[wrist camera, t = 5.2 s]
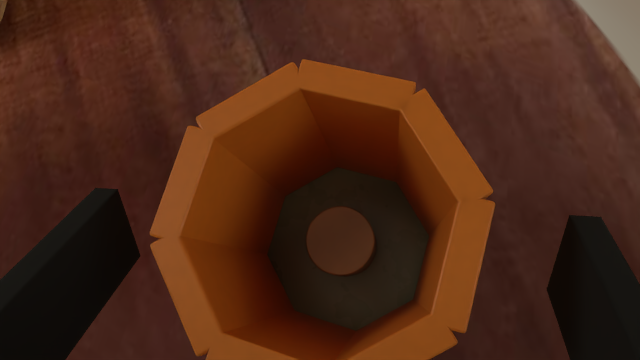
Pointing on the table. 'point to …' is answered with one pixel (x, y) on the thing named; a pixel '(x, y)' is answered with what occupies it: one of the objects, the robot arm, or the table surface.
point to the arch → (2, 8)
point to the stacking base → (348, 248)
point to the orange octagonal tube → (293, 173)
